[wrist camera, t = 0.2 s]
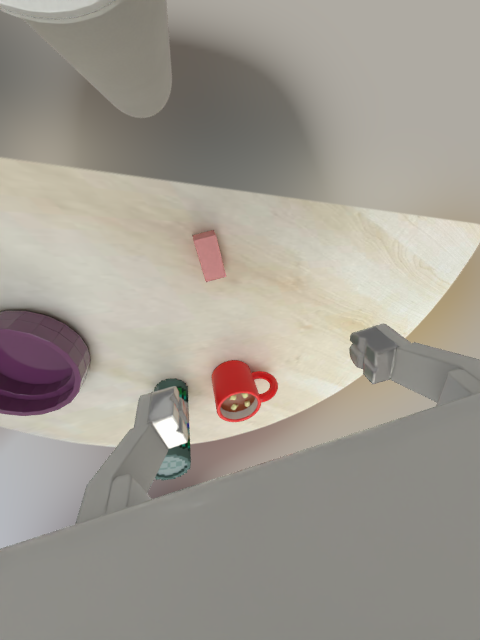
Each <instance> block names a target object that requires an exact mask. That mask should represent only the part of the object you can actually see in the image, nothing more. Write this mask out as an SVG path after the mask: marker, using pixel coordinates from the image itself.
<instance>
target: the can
mask: <svg viewBox="0 0 480 640" xmlns="http://www.w3.org/2000/svg"><path fill="white" fill-rule="evenodd" d="M173 386H176V387H177V389H178V391H179V397H180V398H182V399H183V401H184V403H185V406H186V411H187V421H186V422H185V424H186V426H187V429H188V443H185V444H182V445H179V446H176V447H173V448H170V449H168V452H167V454H166V456H165V458H164V460H163V462H162V464H161V467H160V469H159V471H158V473H157V475H156V477H155V478H156V479H162V480H168V479H175V478H176V477H179V476H181V475H183V474H184V473H187V470H188V469H190V463H191V460H190V459H191V457H190V433H189V409H188V386H186V383H184V382H181V380H177V379H166V381H161V382H159V384H157V387H155V389H154V392H155V391H158V390H162V389H166V388H169V387H173Z"/></svg>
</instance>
